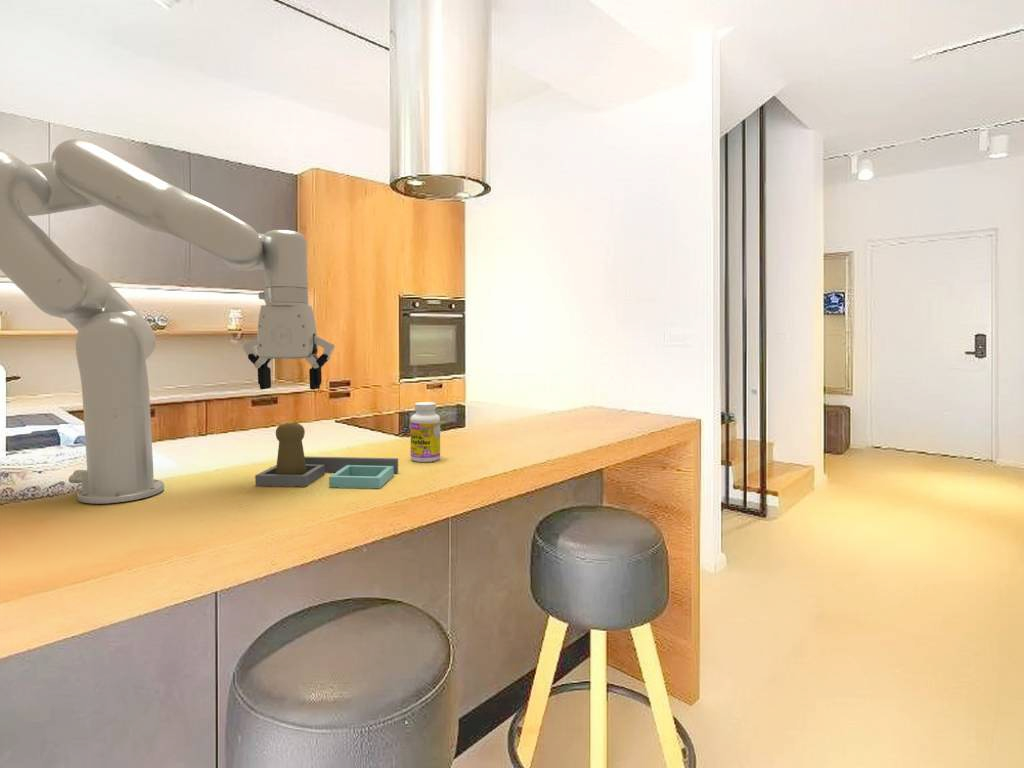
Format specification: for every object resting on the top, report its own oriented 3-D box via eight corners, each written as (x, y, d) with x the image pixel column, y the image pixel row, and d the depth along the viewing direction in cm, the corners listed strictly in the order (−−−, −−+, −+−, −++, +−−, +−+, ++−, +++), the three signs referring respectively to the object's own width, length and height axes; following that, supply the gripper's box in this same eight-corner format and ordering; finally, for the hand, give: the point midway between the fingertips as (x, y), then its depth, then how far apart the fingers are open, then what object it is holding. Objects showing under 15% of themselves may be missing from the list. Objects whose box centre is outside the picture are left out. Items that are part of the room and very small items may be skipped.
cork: (297, 485, 108) (295, 426, 107) (268, 483, 109) (266, 425, 108) (314, 477, 114) (312, 422, 113) (286, 475, 115) (285, 421, 114)
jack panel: (254, 485, 107) (253, 470, 107) (283, 470, 119) (283, 456, 119) (381, 488, 106) (381, 472, 105) (398, 472, 118) (398, 458, 118)
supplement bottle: (404, 461, 128) (404, 404, 127) (420, 455, 134) (419, 400, 133) (431, 464, 126) (430, 405, 125) (445, 458, 132) (445, 402, 131)
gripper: (231, 297, 105) (235, 390, 107) (324, 297, 104) (327, 391, 106) (252, 299, 113) (256, 386, 114) (339, 299, 112) (341, 387, 113)
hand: (290, 388), depth 110 cm, fingers open, 9 cm apart
